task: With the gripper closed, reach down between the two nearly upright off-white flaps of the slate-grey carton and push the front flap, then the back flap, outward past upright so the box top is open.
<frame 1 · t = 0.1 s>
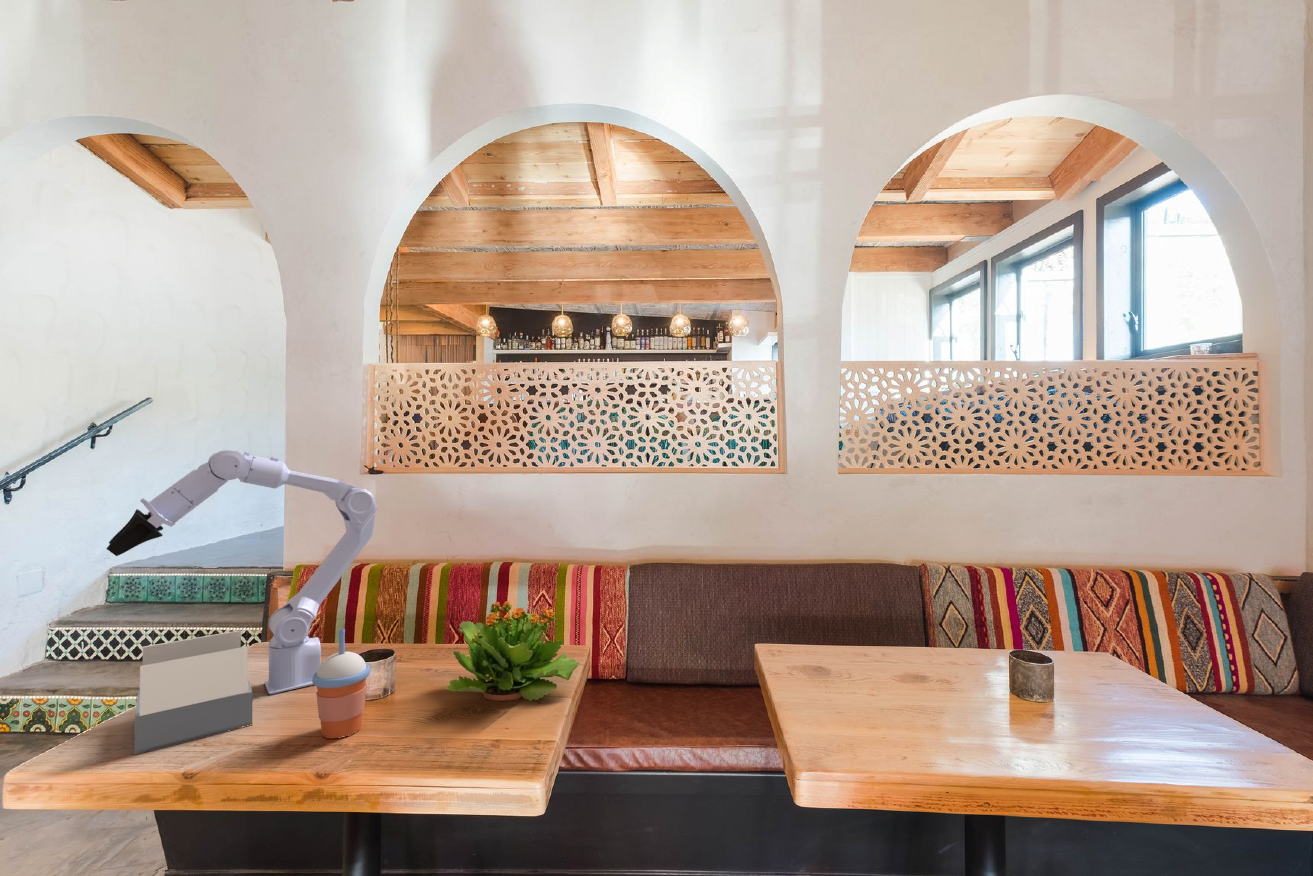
hand: (112, 549, 108), 32 cm above the table, tool tilted 50°, fingers open, 7 cm apart
front flap: (196, 679, 103), point 10 cm above the table, hinge at 75.0°
back flap: (193, 657, 114), point 10 cm above the table, hinge at 75.0°
cup with straw: (341, 732, 105), on the table
carton: (194, 722, 108), on the table
potted flower: (502, 693, 121), on the table
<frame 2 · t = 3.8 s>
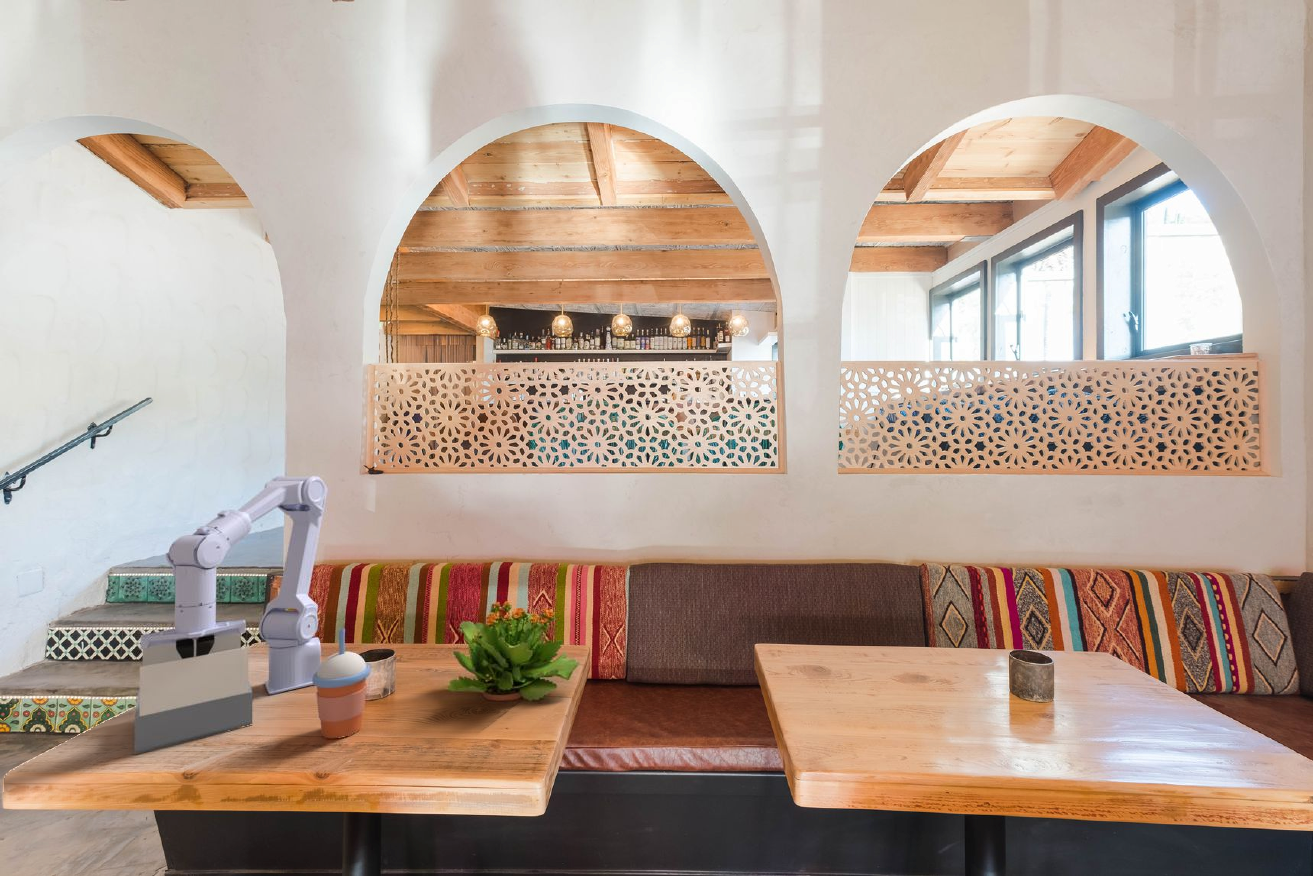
hand: (194, 681, 104), 9 cm above the table, tool pointing down, fingers closed, pressing on front flap
front flap: (196, 680, 102), point 10 cm above the table, hinge at 84.7°, touching gripper
everything else where it was.
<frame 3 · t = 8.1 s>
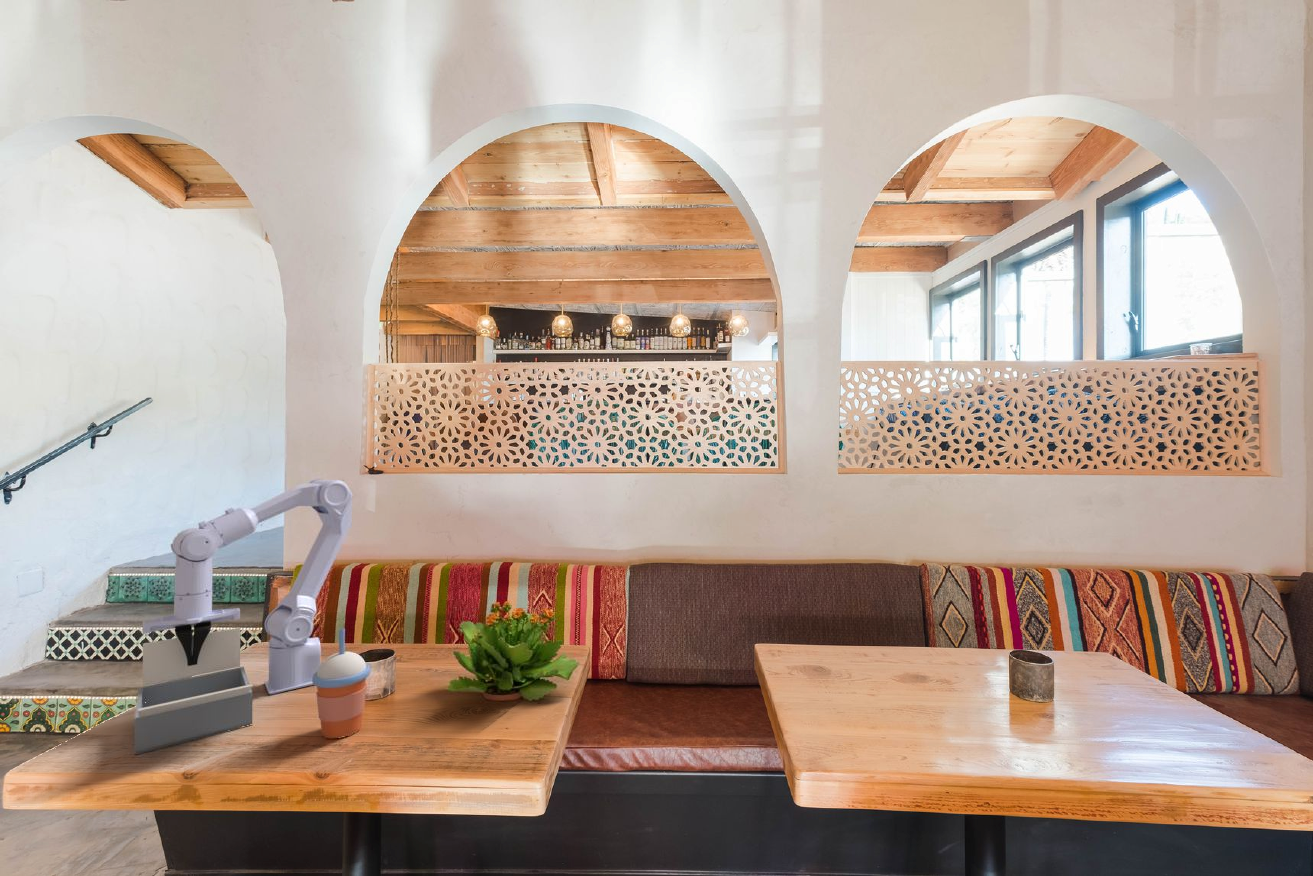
hand: (192, 664, 113), 9 cm above the table, tool pointing down, fingers closed, pressing on back flap
front flap: (197, 700, 100), point 8 cm above the table, hinge at 153.2°
back flap: (193, 655, 115), point 10 cm above the table, hinge at 85.8°, touching gripper
everything else where it was.
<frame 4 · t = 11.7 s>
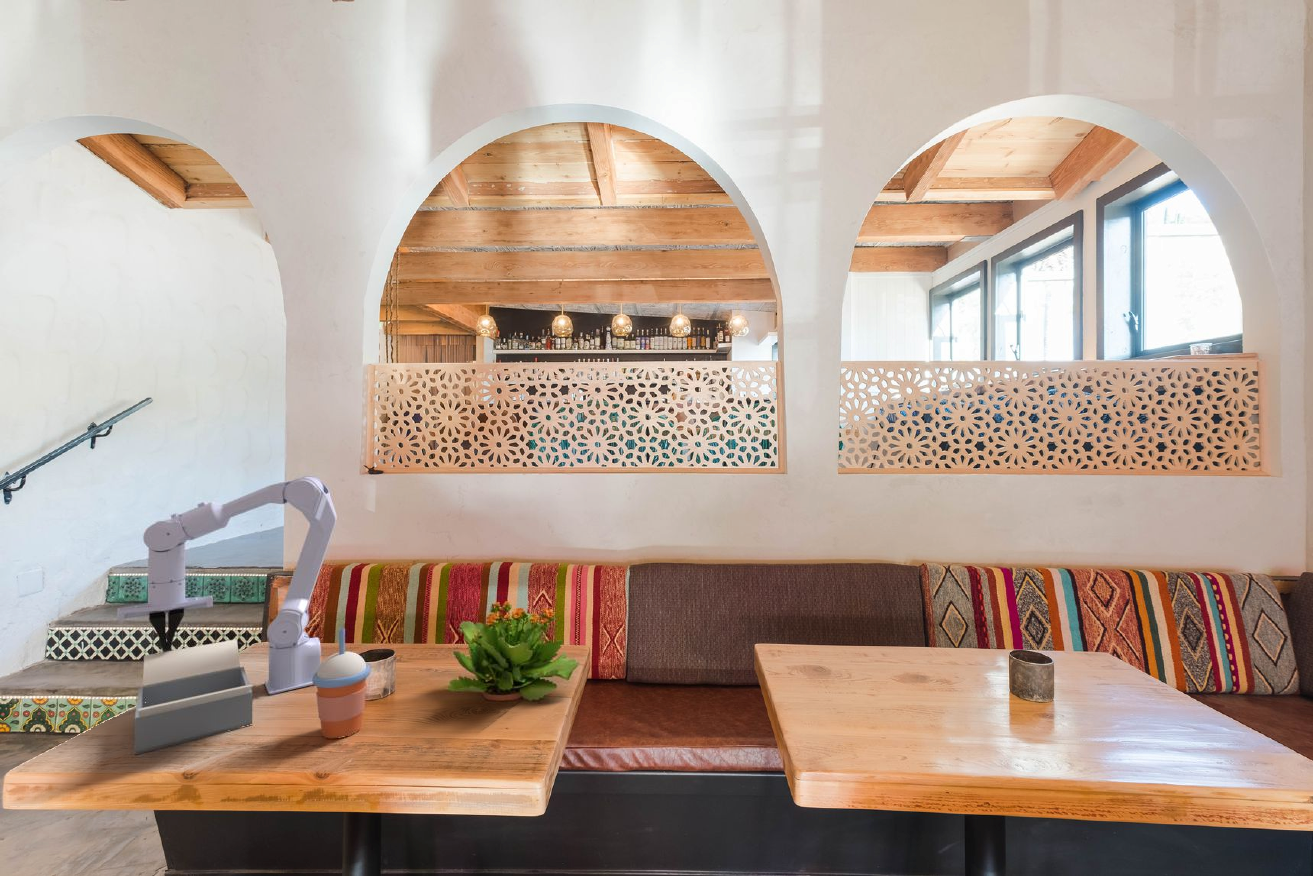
hand: (166, 649, 118), 10 cm above the table, tool pointing down, fingers closed
back flap: (192, 661, 117), point 8 cm above the table, hinge at 152.0°
everything else where it was.
at the end: front flap at +153° (first picture: +75°); back flap at +152° (first picture: +75°) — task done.
